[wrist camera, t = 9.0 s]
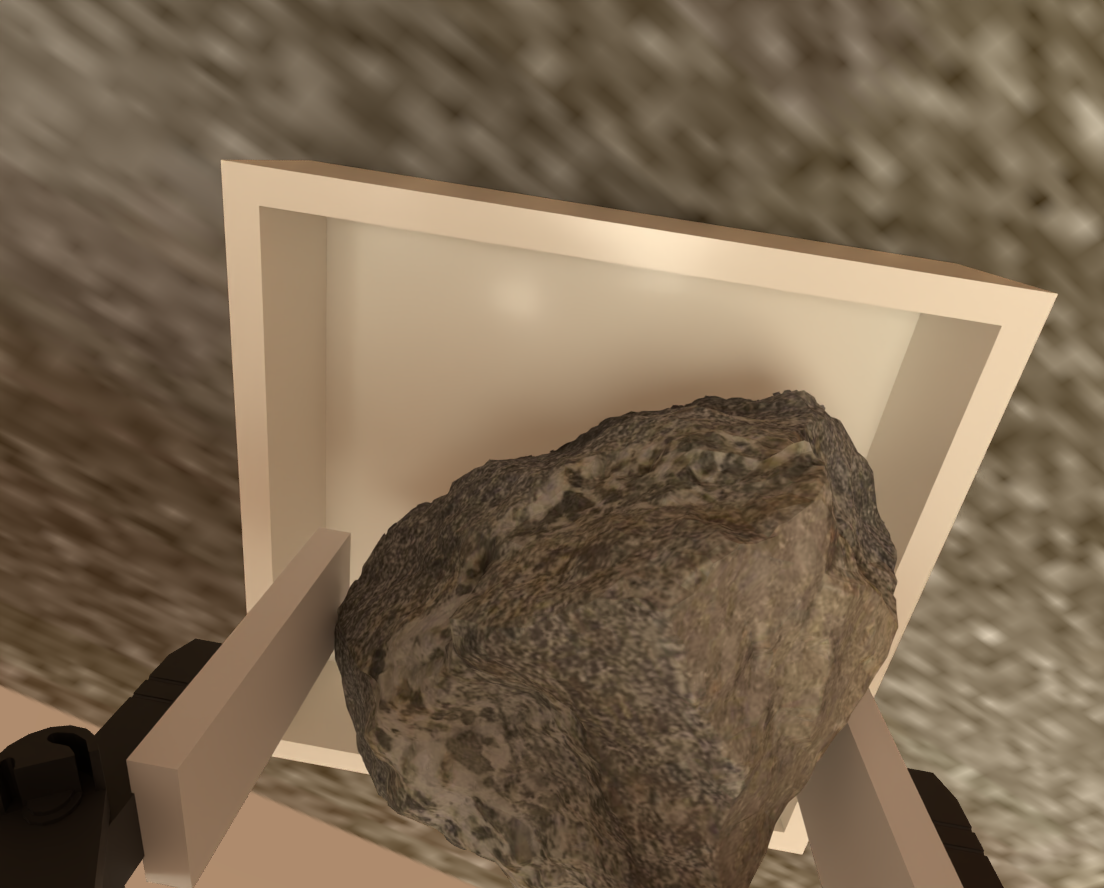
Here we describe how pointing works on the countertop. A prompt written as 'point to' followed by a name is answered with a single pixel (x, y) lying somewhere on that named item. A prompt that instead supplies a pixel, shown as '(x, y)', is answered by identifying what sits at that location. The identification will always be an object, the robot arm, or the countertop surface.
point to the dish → (571, 361)
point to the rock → (624, 643)
